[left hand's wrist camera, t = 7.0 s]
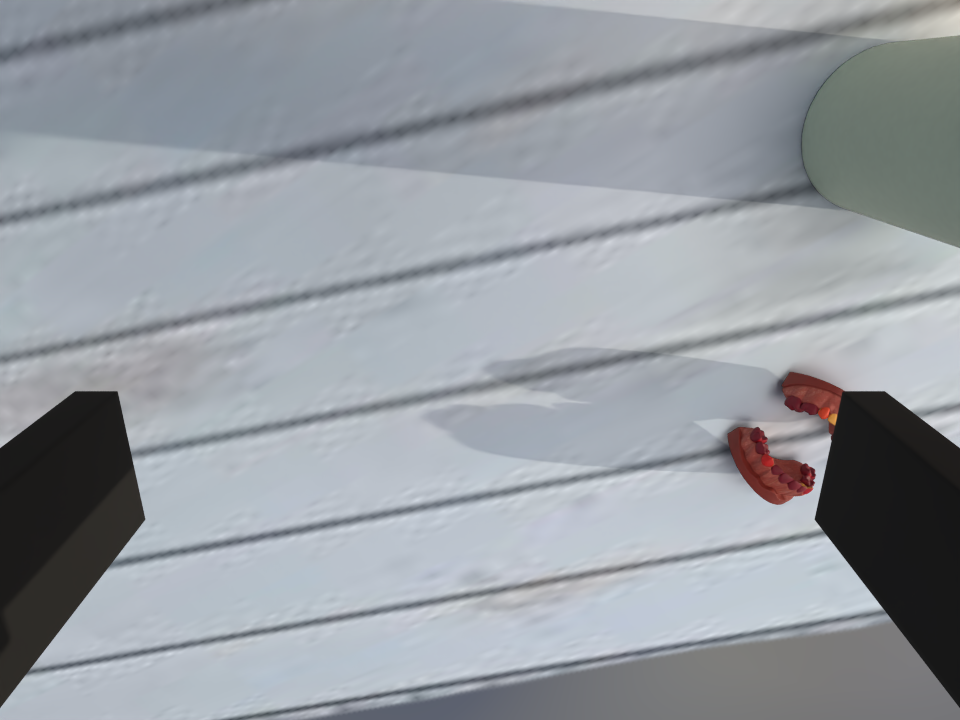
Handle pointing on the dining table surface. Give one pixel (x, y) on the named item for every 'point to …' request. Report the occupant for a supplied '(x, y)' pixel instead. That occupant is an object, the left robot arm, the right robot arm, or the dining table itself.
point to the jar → (891, 136)
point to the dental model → (751, 454)
